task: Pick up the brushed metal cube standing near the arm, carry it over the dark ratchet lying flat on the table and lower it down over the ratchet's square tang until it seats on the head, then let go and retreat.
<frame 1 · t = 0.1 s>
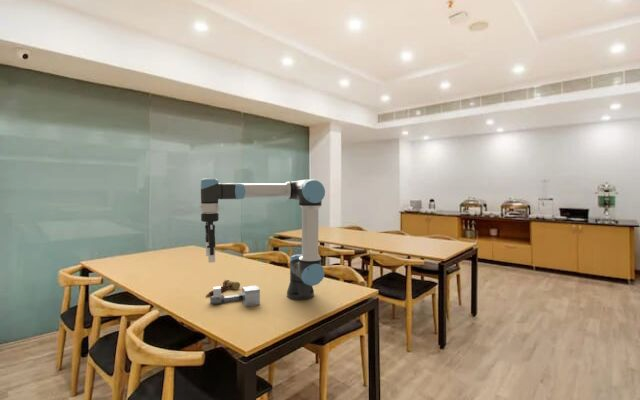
hand: (210, 259, 147), 28 cm above the table, fingers open, 13 cm apart
brushed metal cube: (251, 303, 168), on the table
gavel: (220, 292, 186), on the table
ratchet: (217, 302, 169), on the table
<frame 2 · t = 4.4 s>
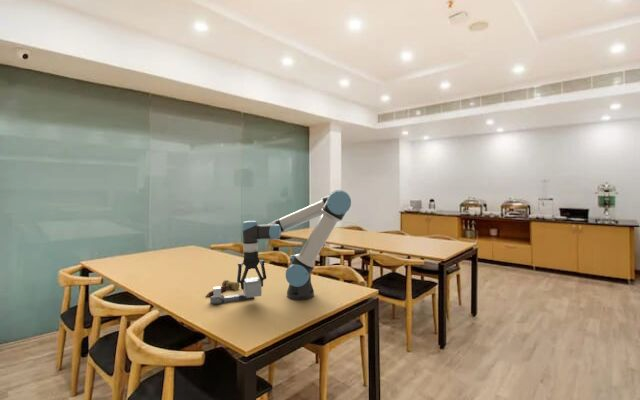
hand: (252, 294, 168), 5 cm above the table, fingers closed on brushed metal cube, 7 cm apart
brushed metal cube: (252, 294, 168), point 5 cm above the table, touching gripper
everything else where it was.
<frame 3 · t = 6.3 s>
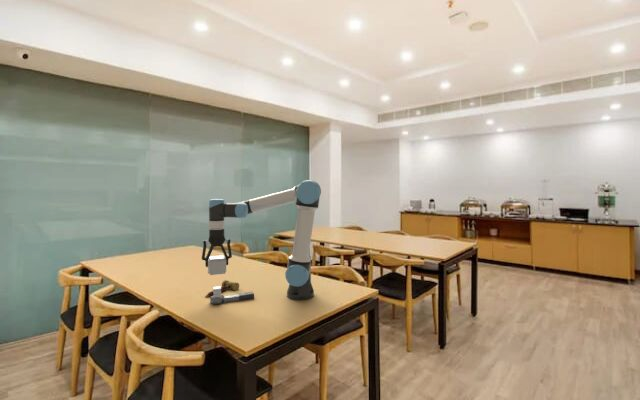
hand: (217, 272, 168), 16 cm above the table, fingers closed on brushed metal cube, 7 cm apart
brushed metal cube: (217, 272, 168), point 16 cm above the table, touching gripper
everything else where it was.
when the fingers open (4 cm above the table, at t = 8.4 s): brushed metal cube stays where it is, resting on ratchet.
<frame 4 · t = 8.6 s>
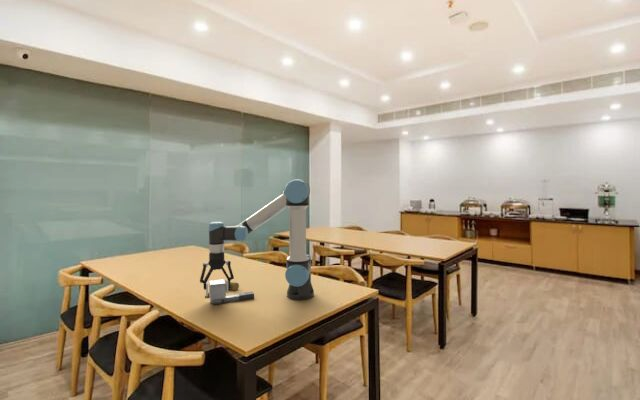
hand: (217, 293, 169), 5 cm above the table, fingers open, 9 cm apart
brushed metal cube: (217, 297, 169), point 3 cm above the table, touching ratchet
ratchet: (217, 302, 169), on the table, touching brushed metal cube
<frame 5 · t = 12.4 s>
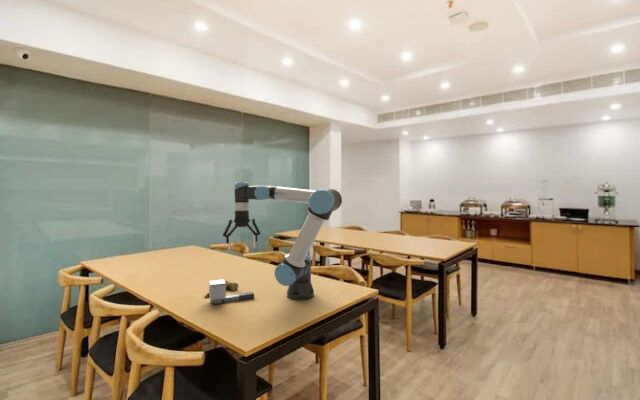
hand: (242, 248, 178), 27 cm above the table, fingers open, 13 cm apart
at the end: brushed metal cube 0.1 cm off-centre on the ratchet, point 3.0 cm above the ratchet's base; brushed metal cube tilted 0°; the gripper is holding nothing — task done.
